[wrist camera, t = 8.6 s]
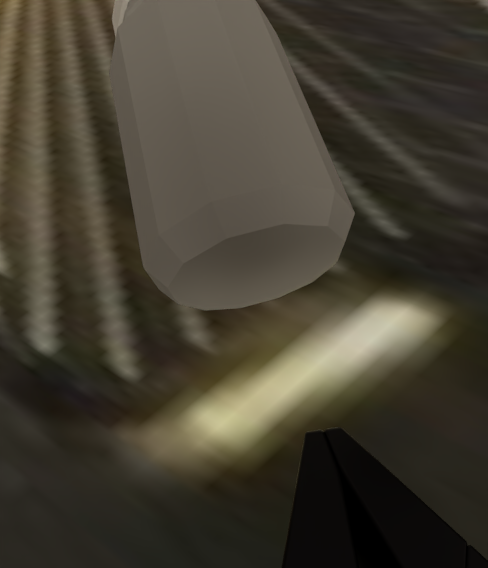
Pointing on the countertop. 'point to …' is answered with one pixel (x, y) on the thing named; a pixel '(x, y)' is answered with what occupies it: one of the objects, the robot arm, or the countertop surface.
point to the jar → (221, 154)
